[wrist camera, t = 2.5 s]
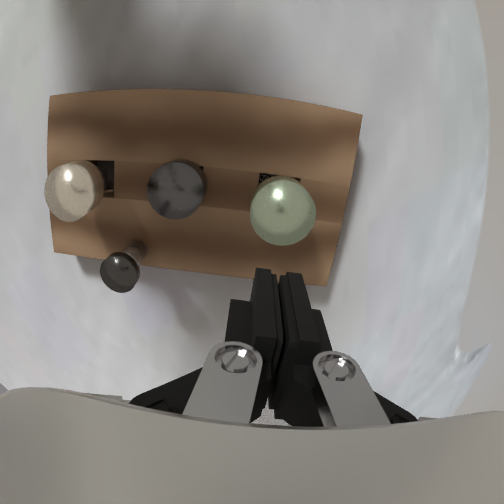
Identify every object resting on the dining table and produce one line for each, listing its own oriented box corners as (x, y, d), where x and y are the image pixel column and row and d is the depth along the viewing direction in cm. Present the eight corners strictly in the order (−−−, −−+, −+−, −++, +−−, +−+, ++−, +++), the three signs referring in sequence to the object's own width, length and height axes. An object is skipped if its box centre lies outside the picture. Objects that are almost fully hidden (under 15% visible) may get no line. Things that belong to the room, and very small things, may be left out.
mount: (66, 96, 24) (50, 95, 21) (351, 114, 25) (362, 114, 23) (67, 241, 30) (54, 252, 28) (320, 271, 32) (326, 286, 29)
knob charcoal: (166, 153, 26) (148, 161, 22) (214, 157, 27) (205, 165, 22) (164, 199, 28) (146, 216, 23) (209, 204, 28) (200, 222, 24)
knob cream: (76, 154, 24) (43, 165, 19) (118, 155, 24) (89, 165, 19) (77, 201, 25) (46, 219, 21) (118, 204, 26) (91, 224, 21)
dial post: (121, 232, 27) (98, 254, 22) (153, 235, 27) (134, 259, 22) (123, 263, 28) (102, 289, 24) (153, 267, 28) (136, 295, 24)
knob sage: (254, 166, 24) (254, 178, 19) (308, 173, 24) (321, 187, 20) (247, 217, 26) (246, 241, 21) (299, 224, 26) (309, 249, 21)
